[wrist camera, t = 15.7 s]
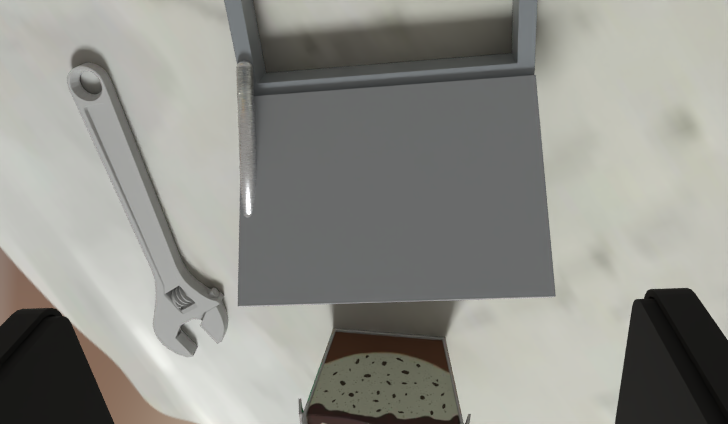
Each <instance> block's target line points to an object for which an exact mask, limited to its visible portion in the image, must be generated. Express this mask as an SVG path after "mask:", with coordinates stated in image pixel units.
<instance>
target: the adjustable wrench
mask: <svg viewBox="0 0 728 424" xmlns="http://www.w3.org/2000/svg"><path fill="white" fill-rule="evenodd" d="M84 71H91V72H92V73H94V74H95V75H96V76H97V77H98V79H99V80H100V82H101V85H102V91H101V92H100V93H98V94H90V93H89V92H87V91H86V90H85V89H84V88H83V86H82V85H81V82H80V75H81V74H82V72H84ZM67 84H68V88H69V90H70V93H71V95H72V97H73V99H74V101H75V103H76V106H77V108H78V110H79V112H80V114H81V117H82V119H83V121H84V123H85V125H86V128H87V130H88V132H89V134H90V136H91V139H92V141H93V143H94V145H95V147H96V150H97V152H98V154H99V156H100V158H101V160H102V163H103V165H104V167H105V169H106V171H107V174H108V176H109V178H110V180H111V182H112V185H113V187H114V189H115V191H116V193H117V196H118V198H119V200H120V202H121V204H122V207H123V209H124V211H125V213H126V215H127V217H128V220H129V222H130V224H131V226H132V228H133V231H134V233H135V235H136V237H137V239H138V242H139V244H140V246H141V248H142V250H143V253H144V255H145V257H146V259H147V261H148V263H149V266H150V268H151V270H152V273H153V276H154V279H155V286H156V303H155V311H154V318H153V328H154V332H155V334H156V336H157V338H158V339H159V340H160V342H161V343H162V344H163V345H164V346H165V347H167V348H168V349H170V350H171V351H173V352H175V353H176V354H179V355H182V356H185V357H192V356H193V355H194V353H195V351H196V349H197V347H198V346H197V345H196V344H195V343H194V342H193V341H192V340H191V339H190V338H189V337H188V336H187V335H186V334H185V333H184V332H183V331H182V330H181V329H180V328H181V326H182V324H184V323H186V322H188V321H190V320H192V319H201V320H202V322H201V324H200V326H201V327H202V328H203V329H204V330H205V331H206V332H207V333H208V334H209V335H210V336H211V337H212V339H213V340H214V341H215V342H216V343H217V344H218V343H220V342H222V340H223V338H224V335H225V333H226V330H227V327H228V315H227V311H226V308H225V306H224V304H223V302H222V299H223V297H224V295H223V294H222V293H220V292H218V290H217V289H216V288H215V287H214V288H212V289H209V288H208V287H206V286H205V285H203V284H202V283H201V282H199V281H198V280H197V279H195V278H194V277H193V276H192V275H191V274H190V272H189V271H188V270H187V268H186V267H185V265H184V263H183V261H182V259H181V257H180V254H179V252H178V249H177V247H176V244H175V241H174V239H173V236H172V234H171V231H170V229H169V226H168V224H167V221H166V219H165V216H164V213H163V211H162V208H161V206H160V203H159V201H158V198H157V196H156V193H155V191H154V188H153V185H152V183H151V180H150V178H149V175H148V173H147V170H146V168H145V165H144V162H143V160H142V157H141V155H140V152H139V150H138V147H137V145H136V142H135V140H134V137H133V134H132V132H131V129H130V127H129V124H128V122H127V119H126V117H125V114H124V112H123V109H122V106H121V104H120V101H119V99H118V96H117V94H116V91H115V89H114V86H113V84H112V81H111V78H110V77H109V75H108V73H107V72H106V71H105V70H104V69H103V68H102V67H100V66H99V65H97V64H94V63H84V64H81V65H79V66H77V67H75V68H73V69H72V70H71V71H70V72H69V74H68V77H67Z"/></svg>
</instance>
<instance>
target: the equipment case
mask: <svg viewBox="0 0 728 424" xmlns="http://www.w3.org/2000/svg"><path fill="white" fill-rule="evenodd" d="M224 2H225V7H226V12H227V17H228V21H229V26H230V31H231V36H232V41H233V46H234V51H235V56H236V61H237V67H236V71H237V99H238V128H239V157H240V221H239V272H238V306H241V307H251V306H284V305H316V304H349V303H382V302H415V301H448V300H480V299H513V298H546V297H555V285H554V274H553V262H552V251H551V240H550V229H549V218H548V207H547V196H546V185H545V174H544V163H543V152H542V141H541V130H540V119H539V107H538V96H537V85H536V75H534V71H535V46H536V20H537V0H513V10H512V53H509V54H496V55H484V56H471V57H459V58H446V59H434V60H421V61H409V62H396V63H384V64H371V65H359V66H346V67H334V68H321V69H309V70H297V71H284V72H272V73H266V70H265V65H264V59H263V54H262V48H261V43H260V37H259V32H258V26H257V21H256V15H255V10H254V4H253V0H224Z"/></svg>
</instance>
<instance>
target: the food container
mask: <svg viewBox="0 0 728 424" xmlns="http://www.w3.org/2000/svg"><path fill="white" fill-rule="evenodd" d="M470 415H471V414H468V417H467V420H466V423H465V424H469V422H470ZM299 417H300V424H464V423H463V419H462V414H461V409H460V405H459V400H458V395H457V391H456V386H455V381H454V377H453V372H452V367H451V363H450V358H449V353H448V349H447V344H446V339H445V337H433V336H421V335H409V334H397V333H385V332H373V331H360V330H348V329H336V328H333V331H332V334H331V337H330V340H329V342H328V345H327V348H326V351H325V353H324V356H323V359H322V362H321V365H320V367H319V370H318V373H317V376H316V379H315V381H314V384H313V387H312V390H311V392H310V395H309V398H308V401H307V404H306V406H305V409H304V411H303V408H302V402H301V399H299Z"/></svg>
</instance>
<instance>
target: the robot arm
mask: <svg viewBox="0 0 728 424" xmlns="http://www.w3.org/2000/svg"><path fill="white" fill-rule="evenodd" d="M0 424H114V422H113V419H112V417H111V415H110V413H109V410H108V408H107V406H106V403H105V401H104V399H103V396H102V394H101V392H100V389H99V387H98V385H97V382H96V380H95V378H94V375H93V373H92V371H91V369H90V366H89V364H88V361H87V359H86V357H85V355H84V352H83V350H82V348H81V345H80V343H79V340H78V338H77V336H76V334H75V331H74V329H73V327H72V324H71V322H70V321H69V319H68V318H66V317H64V316H62V314H61V313H60V312H59V311H58V310H57V309H53V308H40V309H39V308H38V309H21V310H17V311H16V312H15V313H13V314H12V315H11V316H10V317H9V318H8V319H7V320H6V321H5V322H4V323H3V324H2V325H1V326H0ZM615 424H728V340H727V339H726V337H725V336H724V334H723V333H722V331H721V330H720V328H719V327H718V326H717V324H716V323H715V321H714V320H713V318H712V317H711V316H710V314H709V313H708V311H707V310H706V308H705V307H704V306H703V304H702V303H701V301H700V300H699V298H698V297H697V296H696V294H695V293H694V292H693V291H692V290H691V289H689V288H674V289H650V290H648V291H647V292H646V294H645V297H644V299H636V300H635V301H634V302H633V306H632V312H631V319H630V325H629V332H628V339H627V346H626V352H625V359H624V366H623V373H622V379H621V386H620V393H619V400H618V406H617V413H616V420H615Z"/></svg>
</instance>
